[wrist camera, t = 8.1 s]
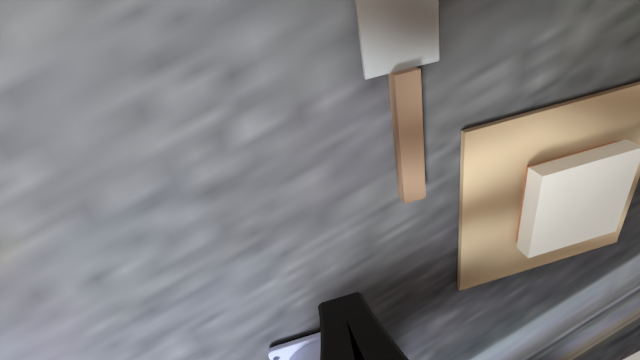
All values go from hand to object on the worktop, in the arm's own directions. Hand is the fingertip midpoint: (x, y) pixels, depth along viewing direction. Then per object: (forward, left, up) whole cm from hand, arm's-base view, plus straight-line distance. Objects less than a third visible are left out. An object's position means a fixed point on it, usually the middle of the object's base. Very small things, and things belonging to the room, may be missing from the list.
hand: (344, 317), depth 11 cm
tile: (-7, -14, -9) cm, 18 cm away
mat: (-7, -17, -10) cm, 21 cm away
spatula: (+4, -6, -10) cm, 13 cm away
